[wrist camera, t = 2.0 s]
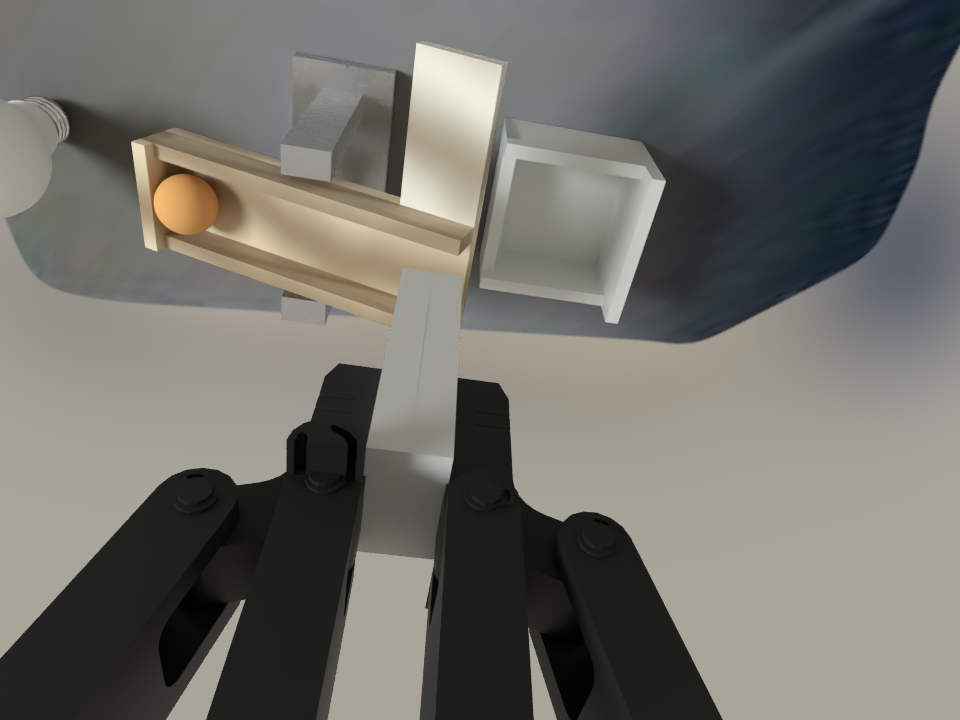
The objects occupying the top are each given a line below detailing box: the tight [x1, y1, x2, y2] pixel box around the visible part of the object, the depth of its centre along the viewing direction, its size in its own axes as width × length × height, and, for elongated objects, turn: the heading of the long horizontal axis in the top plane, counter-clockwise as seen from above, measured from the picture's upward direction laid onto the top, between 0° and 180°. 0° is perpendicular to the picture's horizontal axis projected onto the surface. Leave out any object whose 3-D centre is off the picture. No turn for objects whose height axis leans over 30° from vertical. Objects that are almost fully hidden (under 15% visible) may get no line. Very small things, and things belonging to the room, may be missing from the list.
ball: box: [154, 174, 219, 235], centre depth 36 cm, size 3×3×3 cm
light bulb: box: [0, 96, 70, 218], centre depth 38 cm, size 7×7×11 cm
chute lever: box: [131, 41, 508, 327], centre depth 34 cm, size 14×18×4 cm
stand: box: [281, 52, 397, 325], centre depth 40 cm, size 13×6×12 cm, turn 170°
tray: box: [479, 118, 666, 324], centre depth 43 cm, size 10×9×7 cm
